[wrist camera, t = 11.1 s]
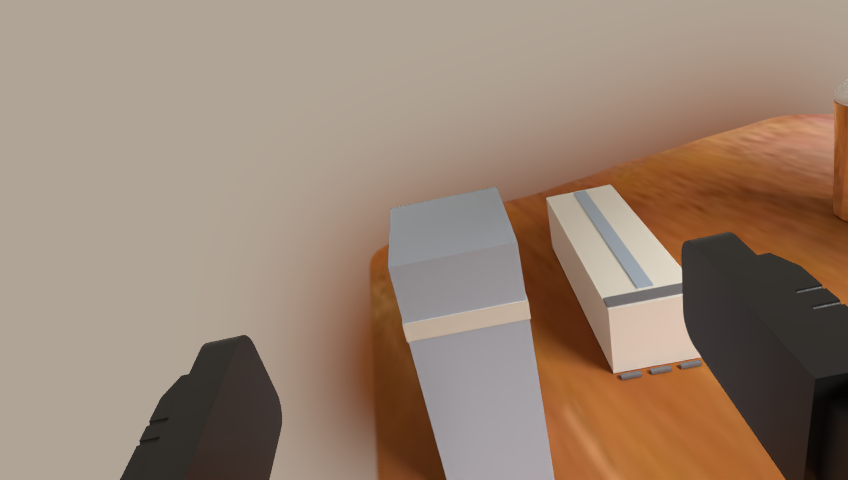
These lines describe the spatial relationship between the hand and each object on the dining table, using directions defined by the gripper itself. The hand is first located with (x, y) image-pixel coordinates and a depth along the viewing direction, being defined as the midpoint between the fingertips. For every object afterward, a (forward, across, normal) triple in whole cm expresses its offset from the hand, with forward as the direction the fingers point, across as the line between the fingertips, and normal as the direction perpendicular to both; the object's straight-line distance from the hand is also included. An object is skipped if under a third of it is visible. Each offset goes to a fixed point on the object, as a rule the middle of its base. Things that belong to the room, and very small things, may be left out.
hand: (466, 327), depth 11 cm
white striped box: (+21, -8, +16) cm, 28 cm away
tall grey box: (+11, +1, +16) cm, 19 cm away
